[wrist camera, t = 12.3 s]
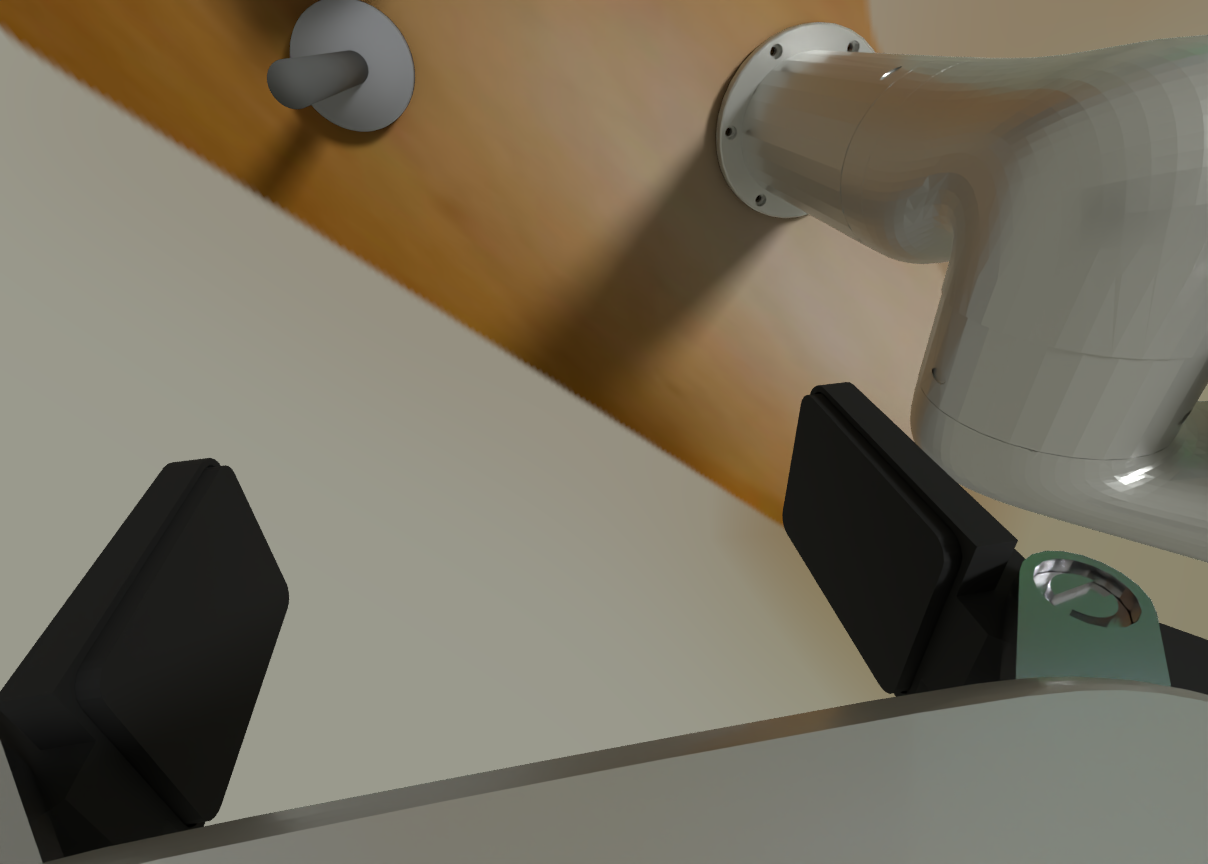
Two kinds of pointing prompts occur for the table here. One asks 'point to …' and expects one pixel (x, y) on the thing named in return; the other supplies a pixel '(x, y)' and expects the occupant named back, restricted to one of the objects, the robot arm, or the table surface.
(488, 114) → the table surface
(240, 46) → the table surface
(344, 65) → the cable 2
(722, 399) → the table surface
